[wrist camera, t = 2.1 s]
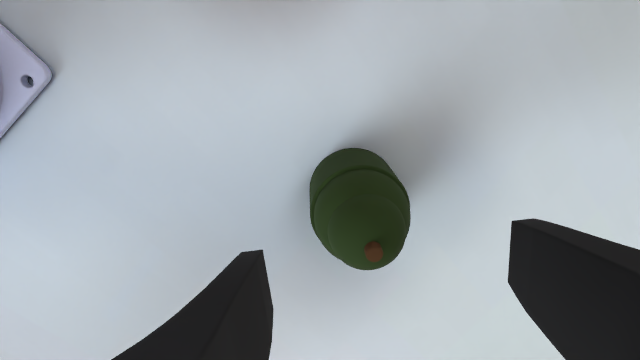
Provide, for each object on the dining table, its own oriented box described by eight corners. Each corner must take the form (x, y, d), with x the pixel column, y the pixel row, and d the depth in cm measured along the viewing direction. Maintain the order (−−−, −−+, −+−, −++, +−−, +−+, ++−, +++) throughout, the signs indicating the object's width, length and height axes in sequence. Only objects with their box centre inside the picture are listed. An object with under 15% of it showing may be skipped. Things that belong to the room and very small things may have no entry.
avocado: (347, 243, 20) (366, 329, 13) (291, 186, 18) (284, 253, 12) (411, 191, 19) (462, 258, 13) (357, 129, 18) (384, 169, 12)
